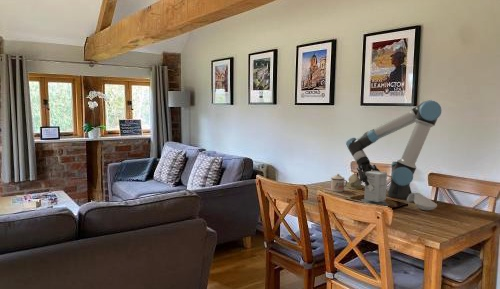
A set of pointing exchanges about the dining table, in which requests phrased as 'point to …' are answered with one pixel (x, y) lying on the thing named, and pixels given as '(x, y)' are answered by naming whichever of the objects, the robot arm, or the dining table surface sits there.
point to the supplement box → (376, 186)
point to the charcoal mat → (375, 202)
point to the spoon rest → (421, 201)
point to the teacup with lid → (338, 183)
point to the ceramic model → (354, 182)
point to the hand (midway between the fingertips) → (379, 188)
